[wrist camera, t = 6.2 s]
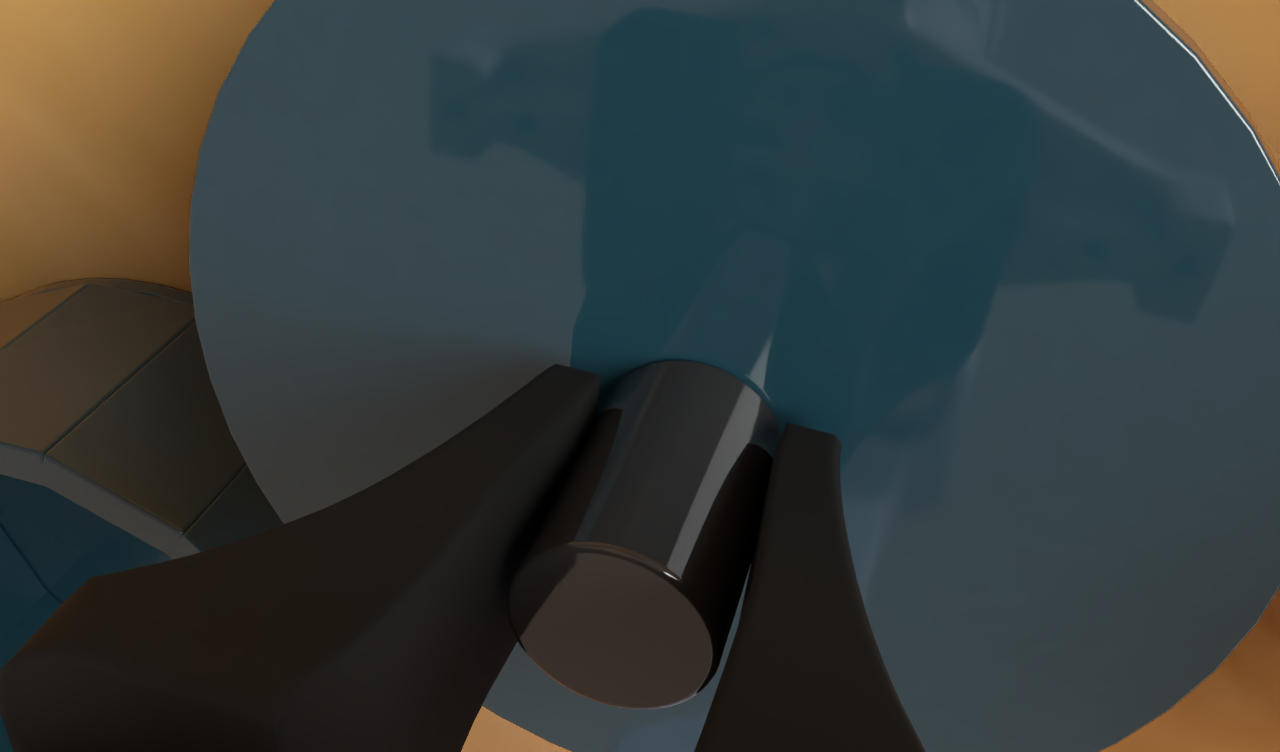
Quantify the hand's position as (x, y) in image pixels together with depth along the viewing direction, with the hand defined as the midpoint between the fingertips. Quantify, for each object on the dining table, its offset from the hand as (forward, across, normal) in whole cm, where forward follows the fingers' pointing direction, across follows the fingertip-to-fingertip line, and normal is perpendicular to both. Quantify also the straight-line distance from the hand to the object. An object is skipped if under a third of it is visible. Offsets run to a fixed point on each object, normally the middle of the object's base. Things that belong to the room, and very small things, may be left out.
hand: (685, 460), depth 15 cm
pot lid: (+1, 0, 0) cm, 1 cm away
